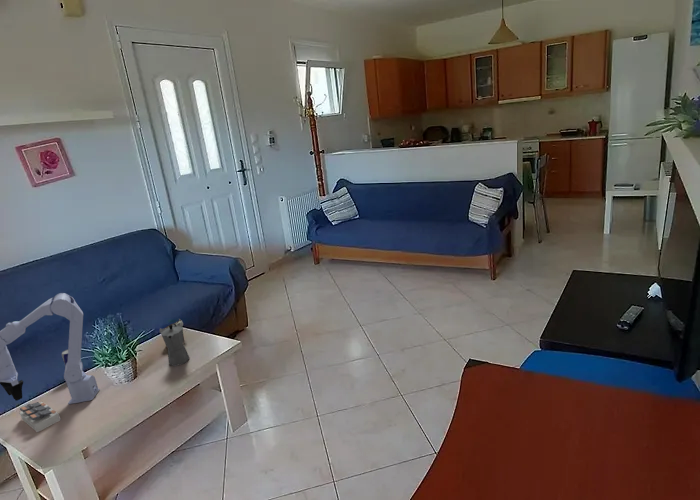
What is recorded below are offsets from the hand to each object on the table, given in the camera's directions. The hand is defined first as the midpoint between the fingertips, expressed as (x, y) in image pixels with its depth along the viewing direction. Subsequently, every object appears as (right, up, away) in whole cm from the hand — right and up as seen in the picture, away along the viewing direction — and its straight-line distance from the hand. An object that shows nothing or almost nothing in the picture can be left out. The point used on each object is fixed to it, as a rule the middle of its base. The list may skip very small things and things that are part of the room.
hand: (15, 396), depth 174 cm
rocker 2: (+9, -5, -2) cm, 11 cm away
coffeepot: (+51, +6, +33) cm, 61 cm away
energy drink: (+4, 0, +31) cm, 32 cm away
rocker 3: (+13, -5, -5) cm, 15 cm away
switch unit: (+10, -9, 0) cm, 13 cm away
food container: (+43, +10, +51) cm, 68 cm away
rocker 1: (+5, -4, +1) cm, 7 cm away
